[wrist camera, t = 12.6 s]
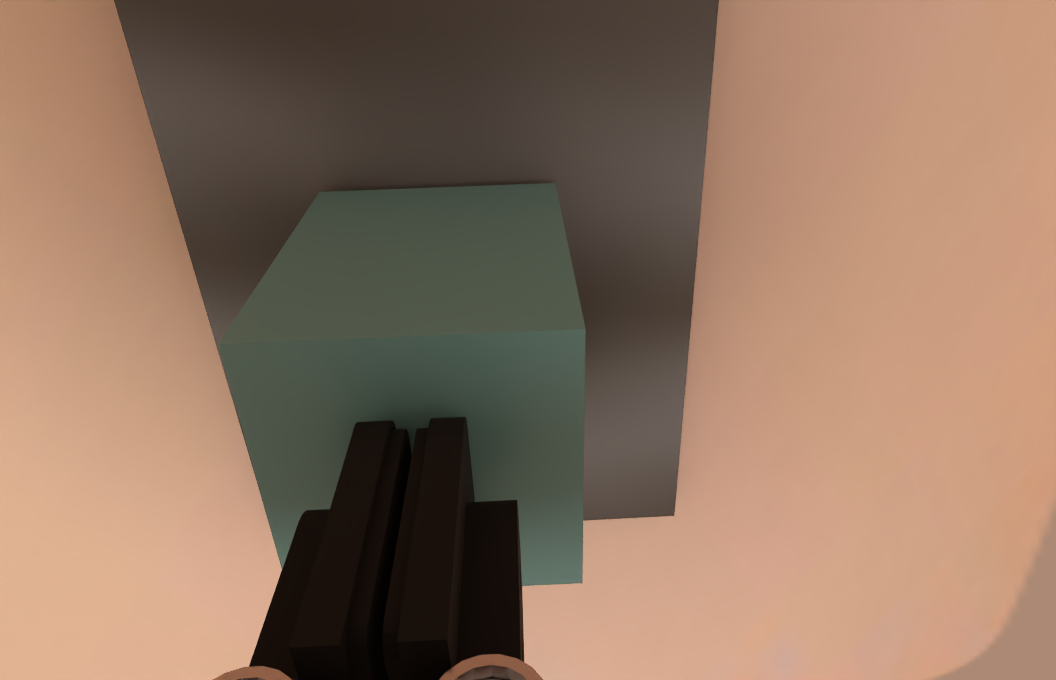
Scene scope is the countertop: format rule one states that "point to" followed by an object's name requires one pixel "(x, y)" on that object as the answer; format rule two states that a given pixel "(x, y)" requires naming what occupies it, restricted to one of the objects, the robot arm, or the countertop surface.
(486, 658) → the robot arm
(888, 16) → the countertop surface
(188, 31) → the grey base plate
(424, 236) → the teal cuboid
